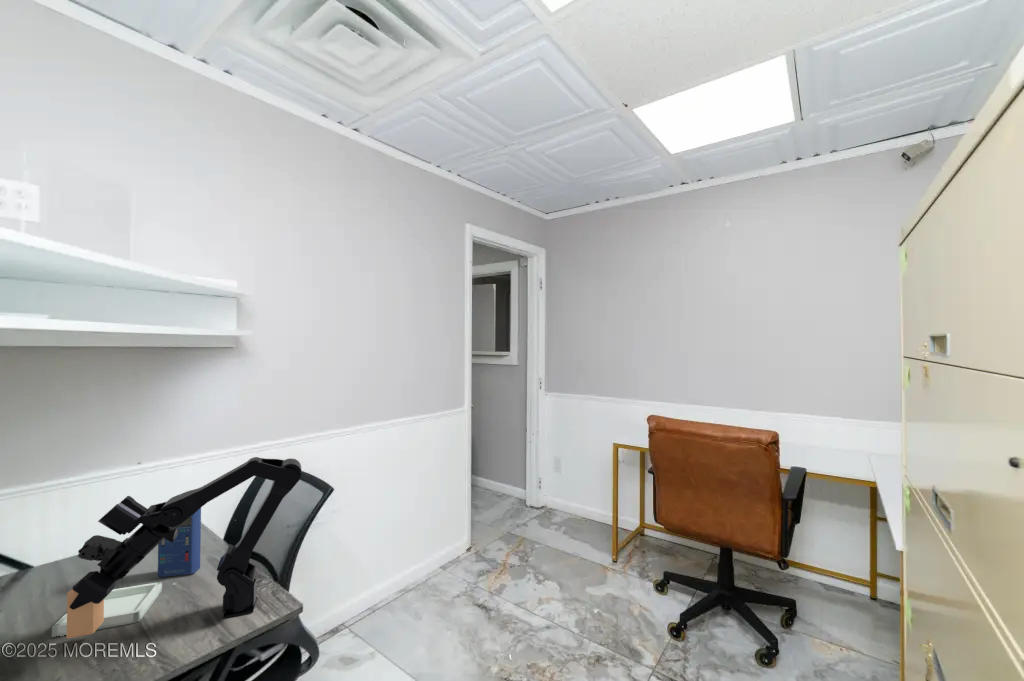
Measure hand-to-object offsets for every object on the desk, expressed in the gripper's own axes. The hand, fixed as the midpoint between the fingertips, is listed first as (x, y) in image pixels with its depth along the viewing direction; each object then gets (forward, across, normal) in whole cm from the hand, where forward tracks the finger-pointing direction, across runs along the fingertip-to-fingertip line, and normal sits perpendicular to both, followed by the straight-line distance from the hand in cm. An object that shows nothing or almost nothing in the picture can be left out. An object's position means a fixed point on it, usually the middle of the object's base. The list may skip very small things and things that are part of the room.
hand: (78, 601), depth 96 cm
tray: (+6, -12, +8) cm, 15 cm away
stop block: (+4, 0, +6) cm, 7 cm away
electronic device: (0, -28, +14) cm, 31 cm away
